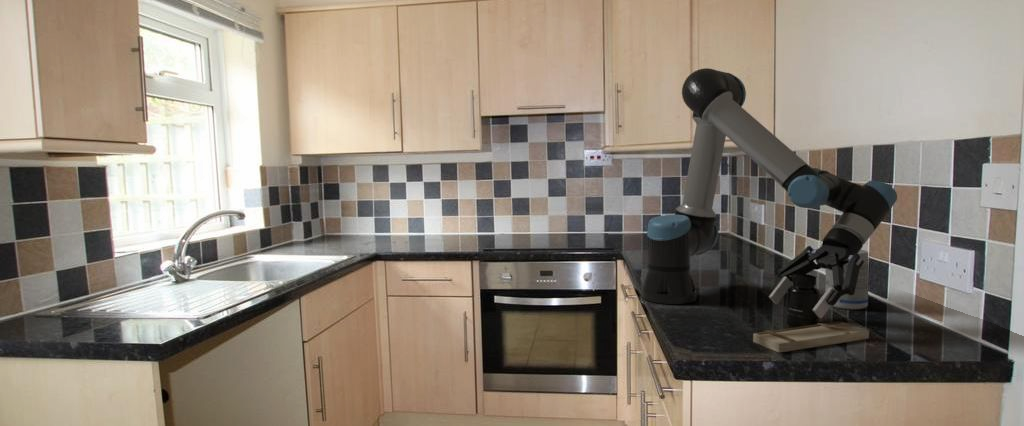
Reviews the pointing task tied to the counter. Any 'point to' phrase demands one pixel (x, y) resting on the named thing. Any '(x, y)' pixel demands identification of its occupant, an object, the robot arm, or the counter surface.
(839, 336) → the birch board
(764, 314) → the counter surface
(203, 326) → the counter surface
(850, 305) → the supplement tub
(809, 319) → the supplement bottle
